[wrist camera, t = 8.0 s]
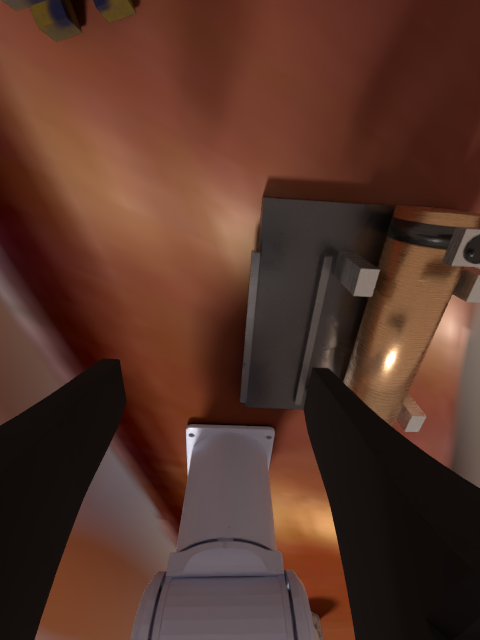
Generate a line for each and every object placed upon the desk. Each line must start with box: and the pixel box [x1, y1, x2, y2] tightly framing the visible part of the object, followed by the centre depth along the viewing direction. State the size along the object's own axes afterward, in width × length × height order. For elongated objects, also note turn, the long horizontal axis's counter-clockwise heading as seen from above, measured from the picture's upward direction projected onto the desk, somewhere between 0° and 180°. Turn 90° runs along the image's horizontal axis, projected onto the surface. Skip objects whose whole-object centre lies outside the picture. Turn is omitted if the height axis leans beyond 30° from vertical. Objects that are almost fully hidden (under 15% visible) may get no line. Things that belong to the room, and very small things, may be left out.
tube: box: [343, 205, 480, 427], centre depth 18 cm, size 14×4×4 cm, turn 177°
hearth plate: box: [240, 196, 469, 410], centre depth 20 cm, size 16×12×2 cm
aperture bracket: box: [442, 226, 480, 267], centre depth 14 cm, size 2×4×6 cm, turn 86°
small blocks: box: [333, 251, 480, 432], centre depth 19 cm, size 12×7×4 cm, turn 177°
